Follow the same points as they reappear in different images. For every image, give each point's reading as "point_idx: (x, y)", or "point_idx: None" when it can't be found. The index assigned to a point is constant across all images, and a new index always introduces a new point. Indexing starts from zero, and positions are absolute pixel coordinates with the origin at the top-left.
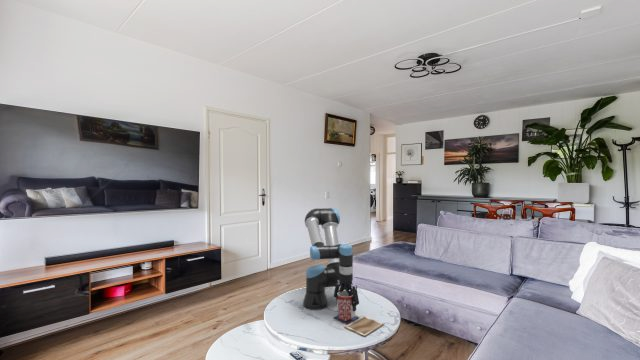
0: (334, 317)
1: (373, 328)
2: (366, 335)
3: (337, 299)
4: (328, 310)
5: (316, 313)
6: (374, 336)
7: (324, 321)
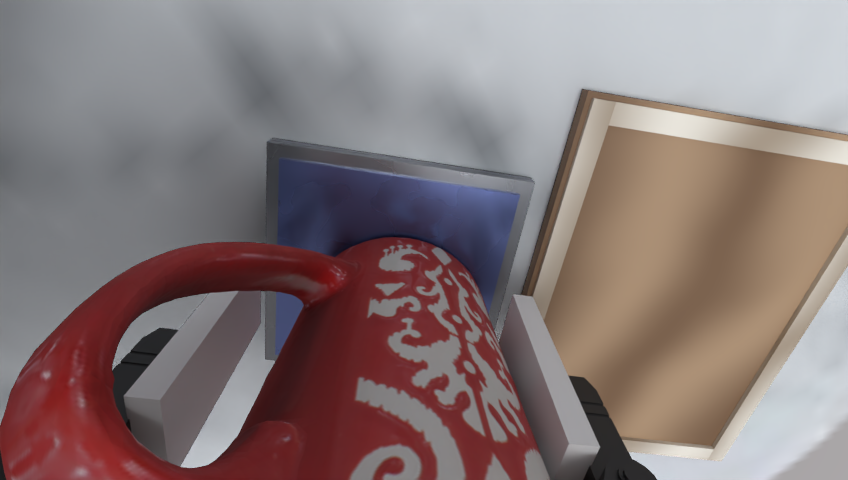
0: (275, 352)
1: (786, 315)
2: (730, 440)
3: None
4: (40, 208)
5: (25, 355)
6: (799, 399)
7: None
